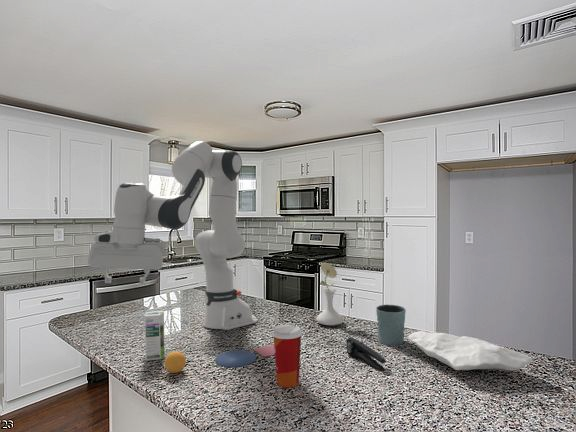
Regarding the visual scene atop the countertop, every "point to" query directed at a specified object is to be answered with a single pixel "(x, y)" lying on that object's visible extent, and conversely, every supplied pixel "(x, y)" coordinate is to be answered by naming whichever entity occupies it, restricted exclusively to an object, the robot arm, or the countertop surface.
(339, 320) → the flower in vase
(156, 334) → the syrup box
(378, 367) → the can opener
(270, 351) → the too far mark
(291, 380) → the coffee cup
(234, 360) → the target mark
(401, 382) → the countertop surface
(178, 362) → the ball
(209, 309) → the robot arm
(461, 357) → the crumpled cloth
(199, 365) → the countertop surface
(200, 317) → the countertop surface
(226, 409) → the countertop surface
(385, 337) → the teal cup
